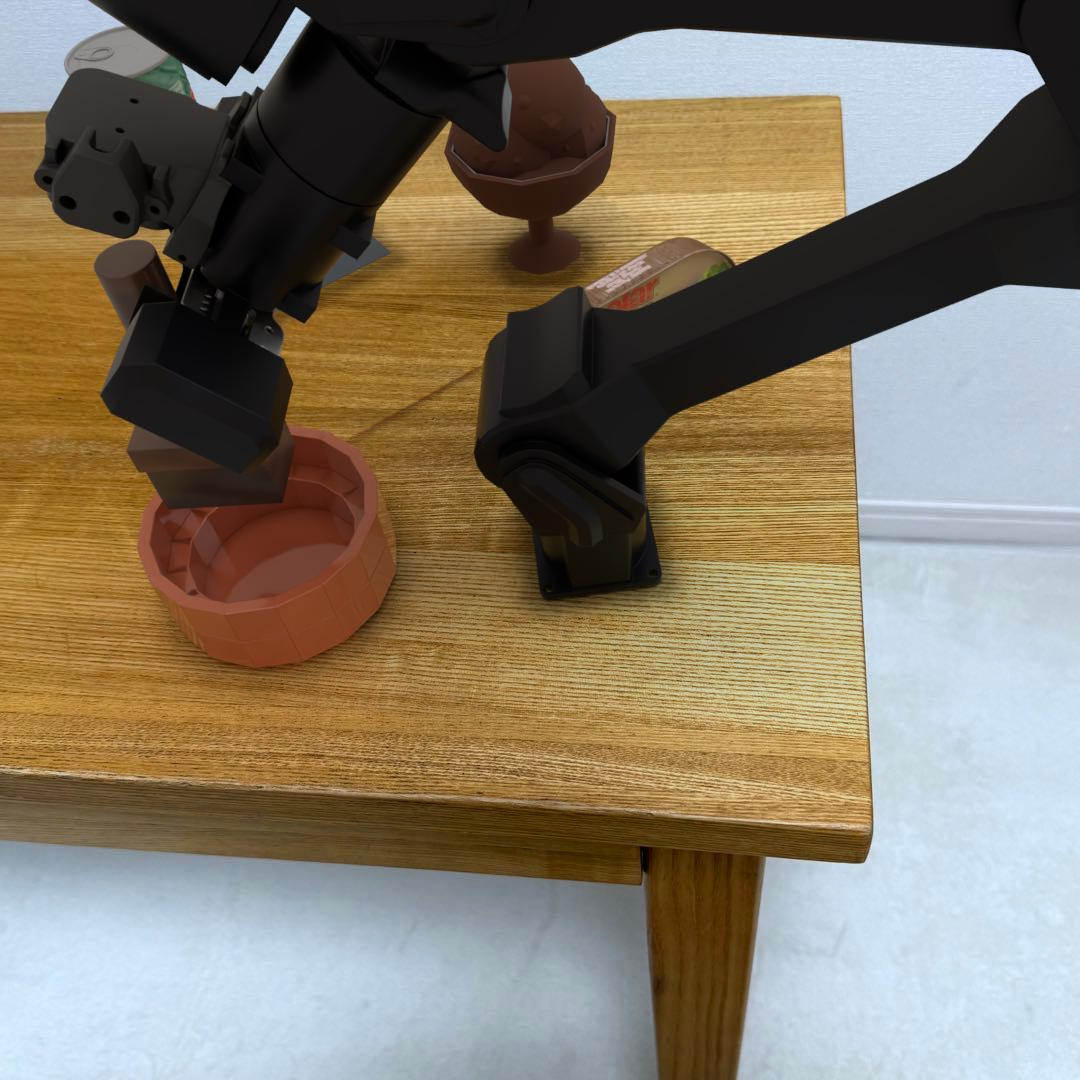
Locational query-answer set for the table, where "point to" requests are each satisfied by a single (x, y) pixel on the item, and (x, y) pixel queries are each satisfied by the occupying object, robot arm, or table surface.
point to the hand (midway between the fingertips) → (156, 381)
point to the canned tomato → (129, 59)
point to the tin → (657, 274)
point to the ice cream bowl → (540, 160)
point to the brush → (165, 463)
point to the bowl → (277, 560)
